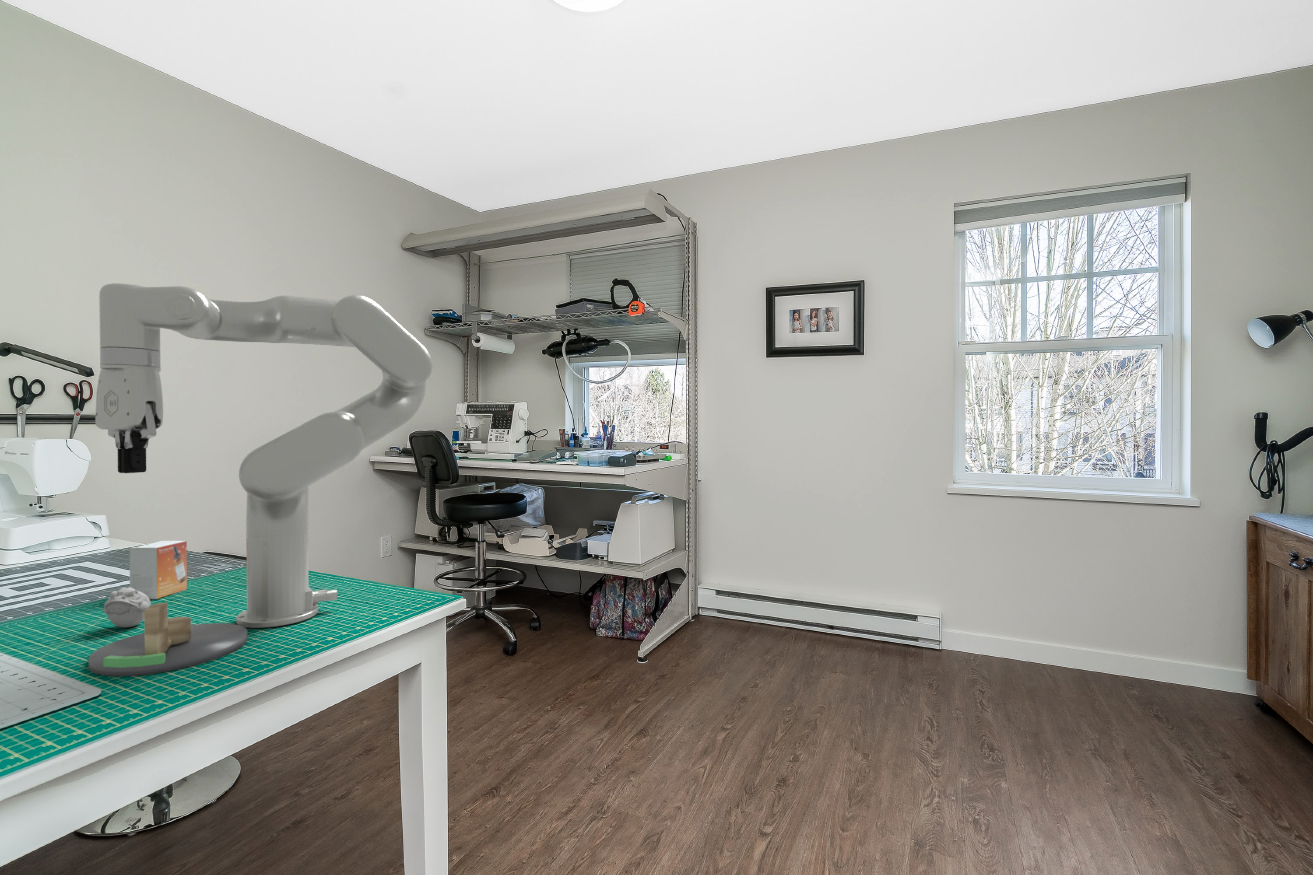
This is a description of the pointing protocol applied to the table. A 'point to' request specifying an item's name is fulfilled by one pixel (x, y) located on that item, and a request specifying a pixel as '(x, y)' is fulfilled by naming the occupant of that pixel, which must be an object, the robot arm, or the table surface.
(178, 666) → the dial face
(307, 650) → the table surface
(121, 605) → the grey rounded lump
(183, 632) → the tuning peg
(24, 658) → the table surface
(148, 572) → the small box
